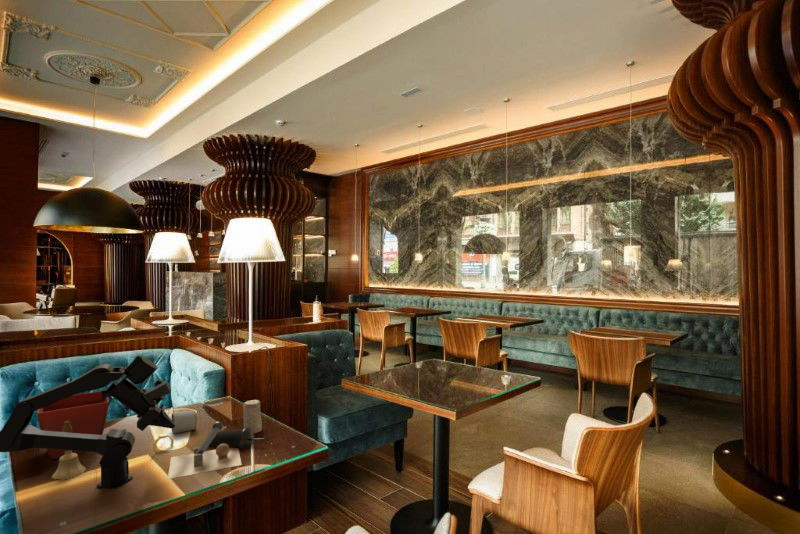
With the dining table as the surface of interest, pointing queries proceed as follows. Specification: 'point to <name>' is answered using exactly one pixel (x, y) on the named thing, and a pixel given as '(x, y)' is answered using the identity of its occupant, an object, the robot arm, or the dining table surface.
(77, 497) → the dining table surface
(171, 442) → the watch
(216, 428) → the lever
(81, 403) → the plant pot
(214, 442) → the drinking cup
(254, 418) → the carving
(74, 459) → the hand bell
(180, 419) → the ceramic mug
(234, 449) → the board
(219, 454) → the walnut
